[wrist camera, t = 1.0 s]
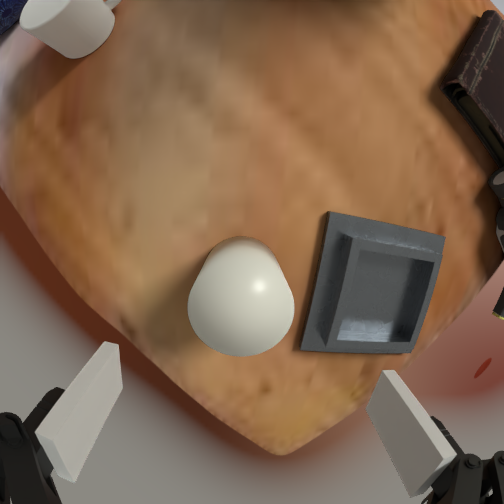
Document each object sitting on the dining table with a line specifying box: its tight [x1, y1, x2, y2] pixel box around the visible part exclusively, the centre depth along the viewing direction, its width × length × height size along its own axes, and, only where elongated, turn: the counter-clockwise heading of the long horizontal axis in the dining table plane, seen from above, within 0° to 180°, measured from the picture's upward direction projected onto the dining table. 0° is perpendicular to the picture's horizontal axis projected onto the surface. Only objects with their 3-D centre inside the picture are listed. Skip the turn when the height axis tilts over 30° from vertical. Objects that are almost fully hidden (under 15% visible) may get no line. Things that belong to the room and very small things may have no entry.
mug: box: [20, 0, 122, 59], centre depth 19 cm, size 8×10×12 cm
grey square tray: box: [299, 211, 445, 353], centre depth 30 cm, size 16×16×4 cm
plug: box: [188, 236, 294, 356], centre depth 26 cm, size 8×8×10 cm
